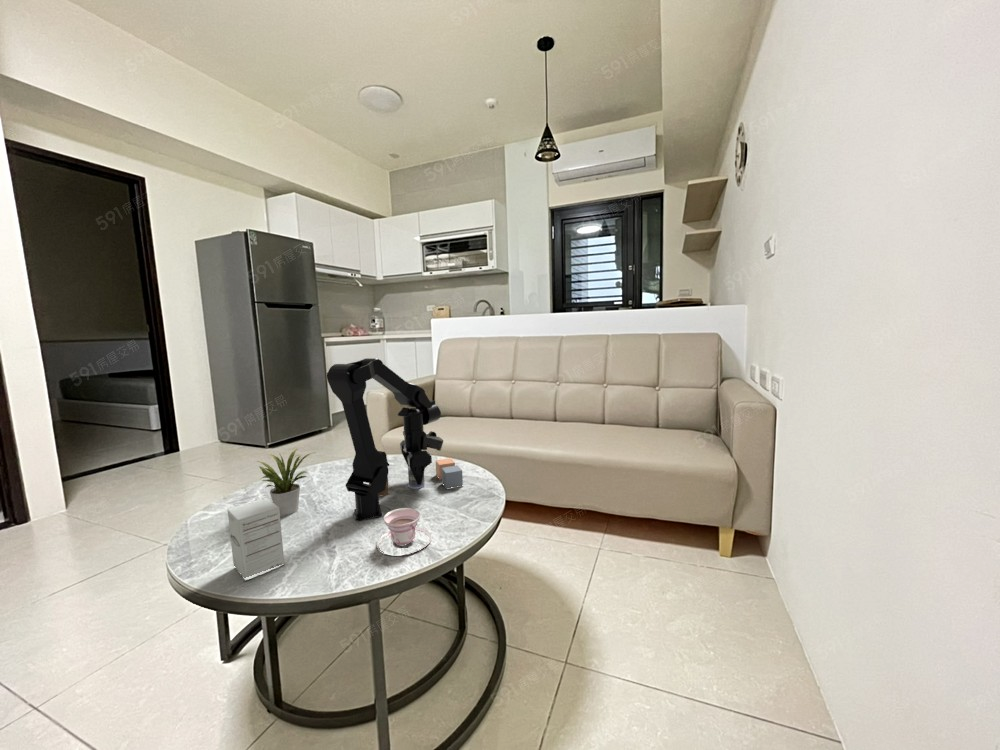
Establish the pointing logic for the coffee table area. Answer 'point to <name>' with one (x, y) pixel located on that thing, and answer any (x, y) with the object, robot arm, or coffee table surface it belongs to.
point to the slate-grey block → (452, 476)
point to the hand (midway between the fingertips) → (416, 479)
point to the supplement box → (256, 537)
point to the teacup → (403, 526)
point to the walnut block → (384, 490)
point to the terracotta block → (443, 465)
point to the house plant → (284, 484)
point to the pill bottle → (412, 480)
